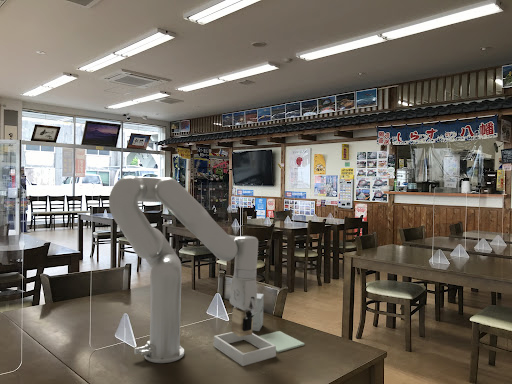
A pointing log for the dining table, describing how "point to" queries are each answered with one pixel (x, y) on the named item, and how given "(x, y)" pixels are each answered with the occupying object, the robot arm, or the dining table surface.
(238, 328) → the birch box
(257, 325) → the supplement box
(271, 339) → the mat
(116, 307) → the dining table surface
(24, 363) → the dining table surface
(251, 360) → the bin
